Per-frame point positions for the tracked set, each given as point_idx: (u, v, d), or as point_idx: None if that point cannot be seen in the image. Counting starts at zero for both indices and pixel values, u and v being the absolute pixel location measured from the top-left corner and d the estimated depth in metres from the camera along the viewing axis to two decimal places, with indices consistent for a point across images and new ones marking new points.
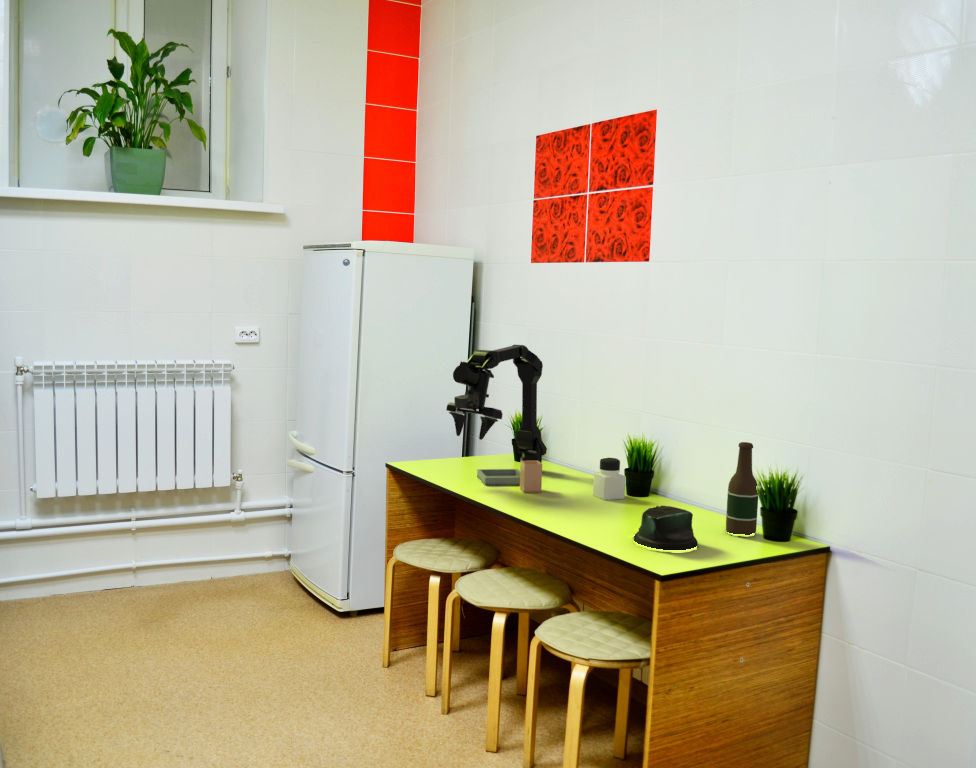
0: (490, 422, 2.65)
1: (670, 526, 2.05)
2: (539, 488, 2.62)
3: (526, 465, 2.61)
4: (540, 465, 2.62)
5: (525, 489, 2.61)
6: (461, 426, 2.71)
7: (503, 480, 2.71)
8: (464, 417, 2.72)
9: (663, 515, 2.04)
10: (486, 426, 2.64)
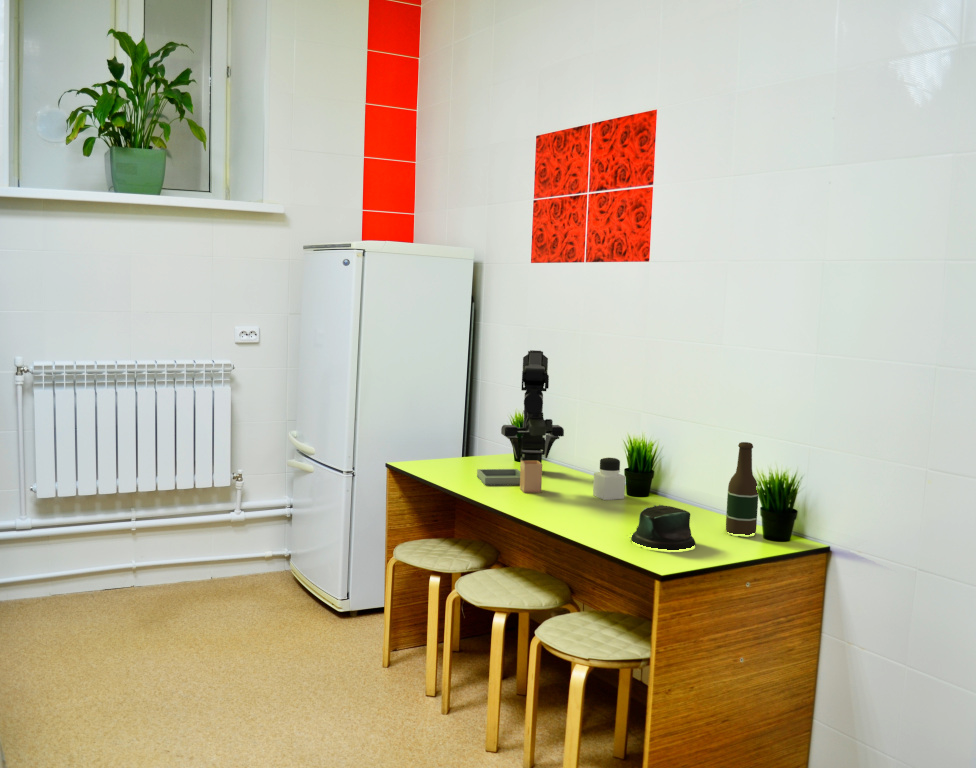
0: None
1: (667, 526, 2.06)
2: (539, 488, 2.62)
3: (526, 465, 2.61)
4: (540, 465, 2.62)
5: (525, 489, 2.61)
6: None
7: (503, 480, 2.71)
8: None
9: (661, 515, 2.05)
10: None
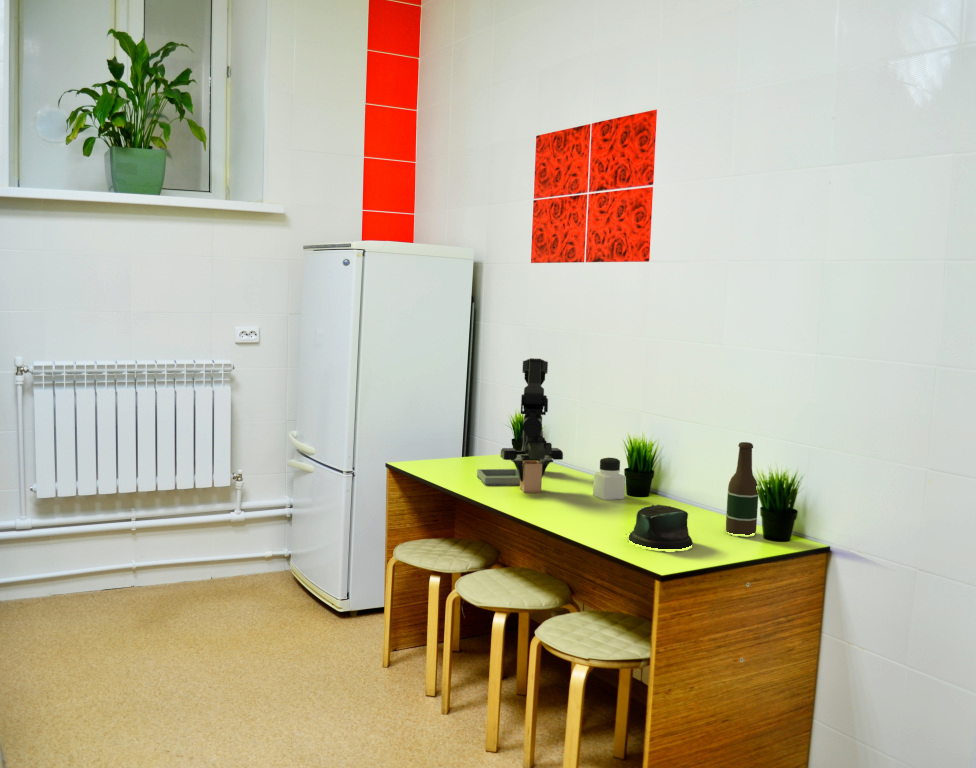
0: None
1: (664, 525, 2.06)
2: (539, 488, 2.62)
3: (526, 465, 2.61)
4: (540, 465, 2.62)
5: (525, 489, 2.61)
6: None
7: (503, 480, 2.71)
8: None
9: (657, 514, 2.05)
10: None
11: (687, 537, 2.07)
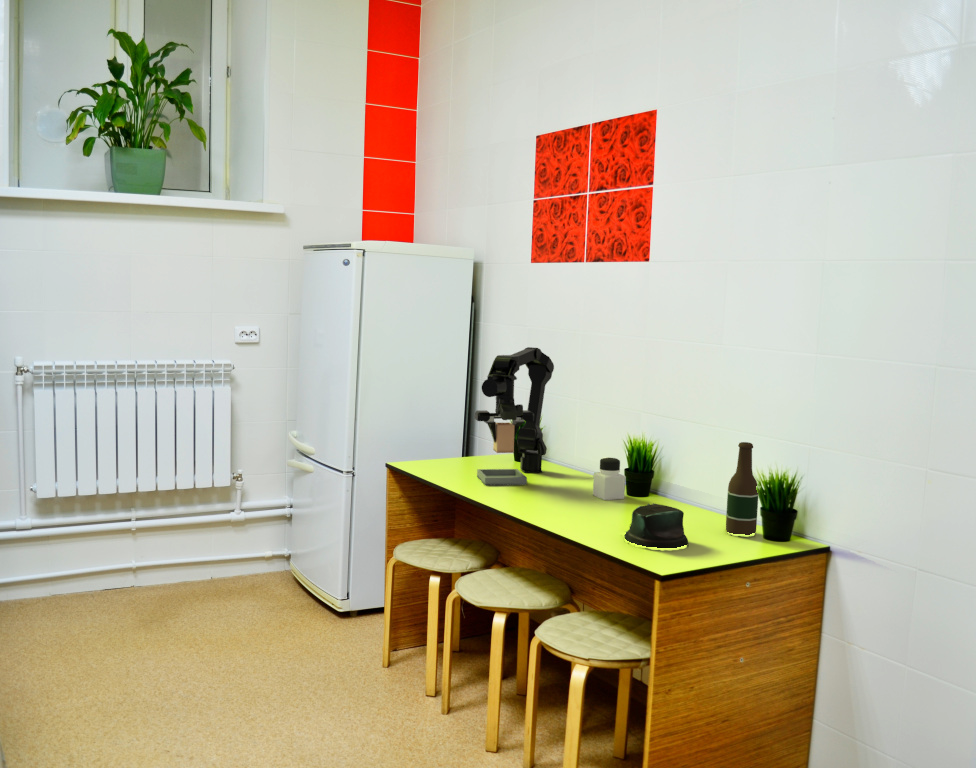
0: None
1: (659, 524, 2.07)
2: (511, 448, 2.74)
3: (499, 426, 2.73)
4: (512, 426, 2.74)
5: (498, 449, 2.73)
6: None
7: (503, 480, 2.71)
8: None
9: (652, 513, 2.06)
10: None
11: (682, 536, 2.08)
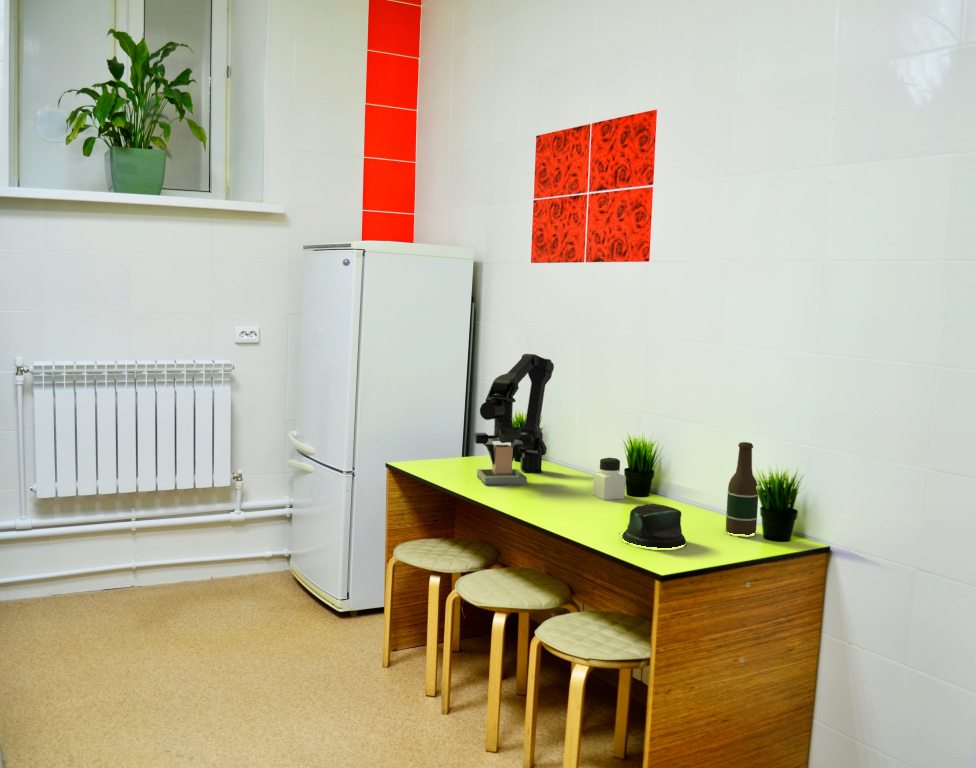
0: None
1: (657, 524, 2.07)
2: (510, 470, 2.75)
3: (497, 448, 2.74)
4: (511, 449, 2.75)
5: (496, 471, 2.75)
6: None
7: (503, 480, 2.71)
8: None
9: (650, 513, 2.06)
10: None
11: (680, 536, 2.08)
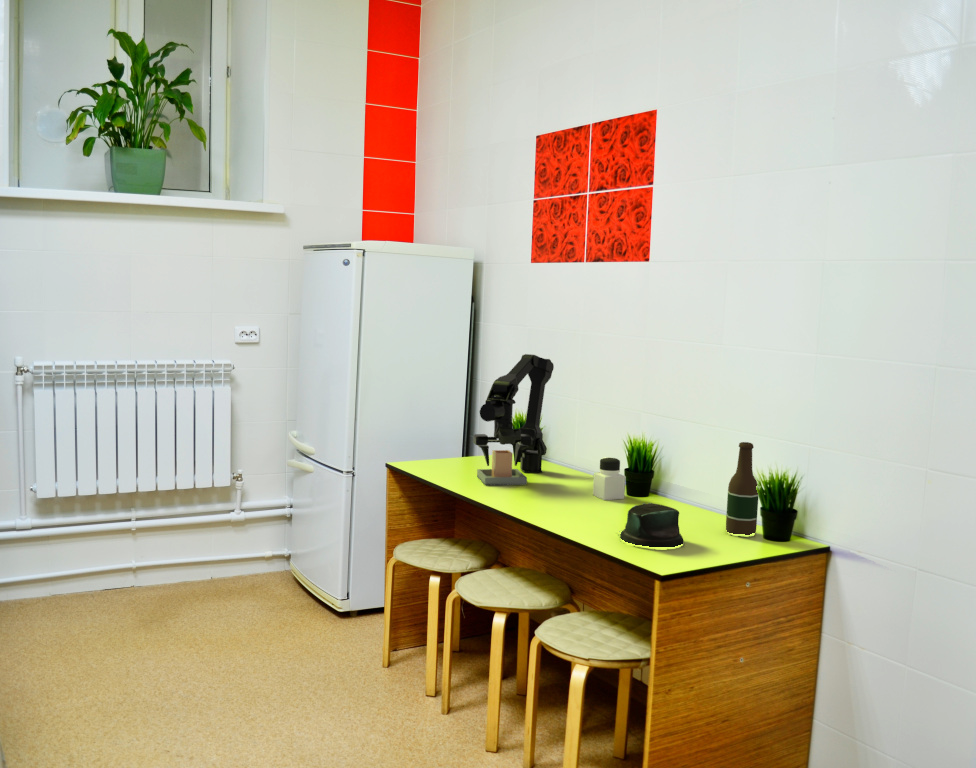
0: None
1: (655, 523, 2.07)
2: (509, 476, 2.76)
3: (497, 454, 2.74)
4: (510, 454, 2.75)
5: None
6: None
7: (503, 480, 2.71)
8: None
9: (648, 512, 2.07)
10: None
11: (678, 535, 2.08)
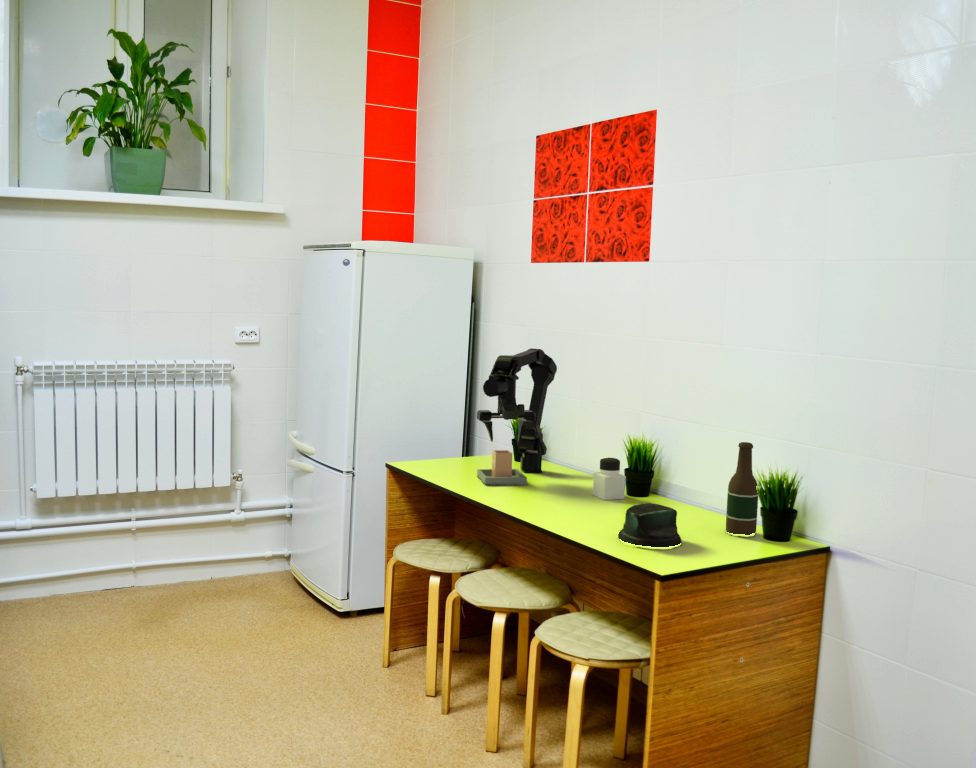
0: None
1: (653, 523, 2.08)
2: (509, 476, 2.76)
3: (497, 454, 2.74)
4: (510, 454, 2.75)
5: None
6: None
7: (503, 480, 2.71)
8: None
9: (646, 512, 2.07)
10: None
11: (676, 535, 2.09)
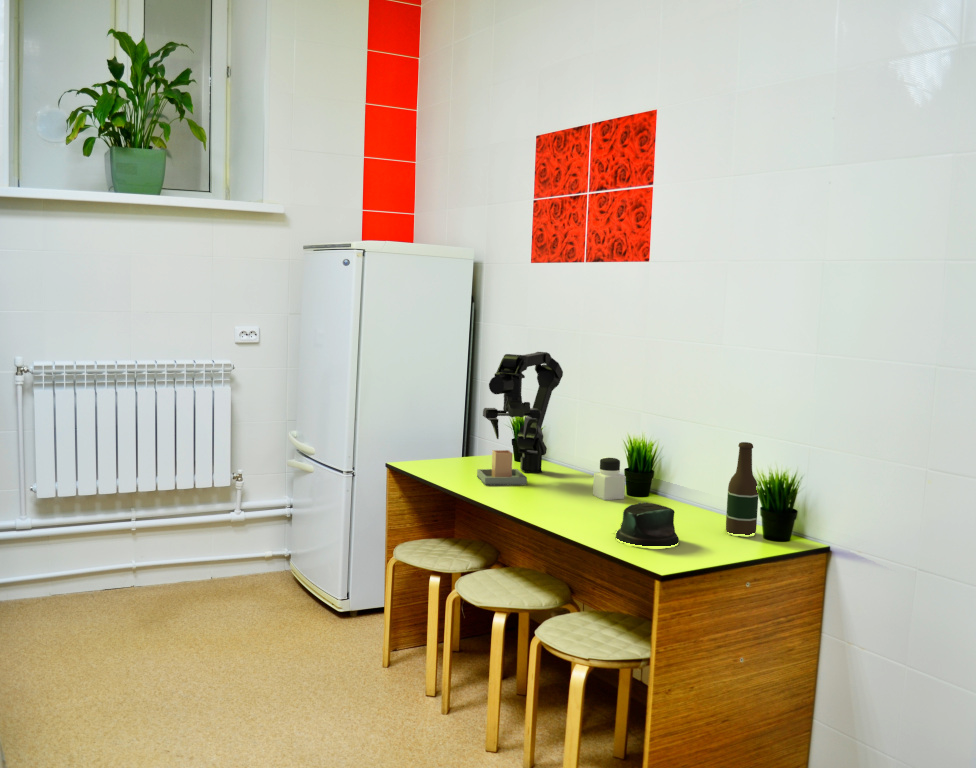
0: None
1: (650, 523, 2.08)
2: (509, 476, 2.76)
3: (497, 454, 2.74)
4: (510, 454, 2.75)
5: None
6: None
7: (503, 480, 2.71)
8: None
9: (643, 512, 2.07)
10: None
11: (673, 534, 2.09)
